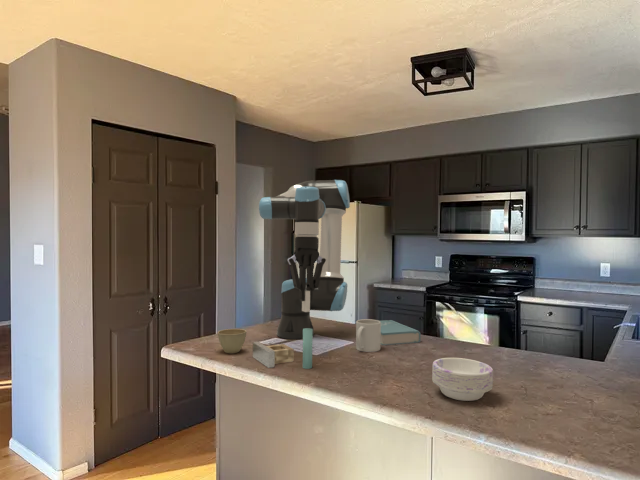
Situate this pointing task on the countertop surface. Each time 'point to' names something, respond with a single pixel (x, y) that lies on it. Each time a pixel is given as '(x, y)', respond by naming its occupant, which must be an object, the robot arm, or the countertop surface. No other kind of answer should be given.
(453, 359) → the paper bowls
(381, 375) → the countertop surface
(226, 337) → the flower pot
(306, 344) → the dowel
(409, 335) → the book
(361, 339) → the mug
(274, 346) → the block
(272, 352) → the backstop rail
